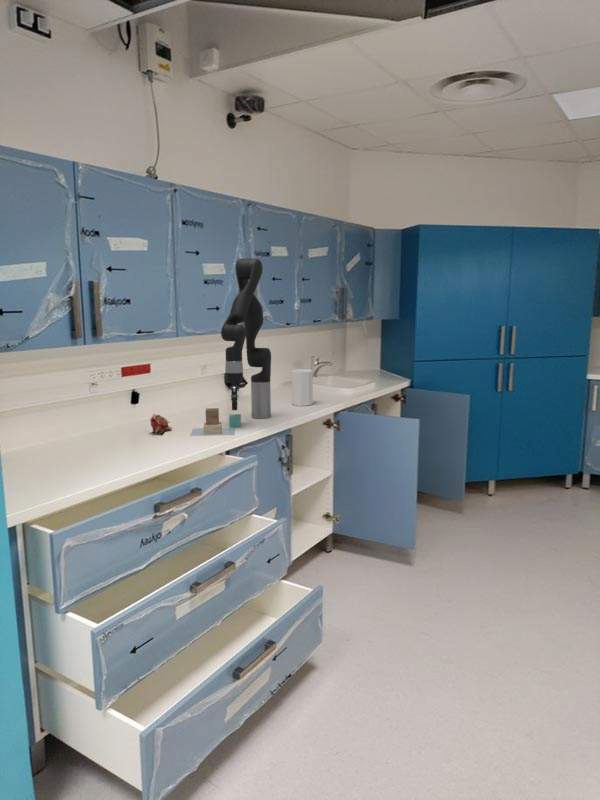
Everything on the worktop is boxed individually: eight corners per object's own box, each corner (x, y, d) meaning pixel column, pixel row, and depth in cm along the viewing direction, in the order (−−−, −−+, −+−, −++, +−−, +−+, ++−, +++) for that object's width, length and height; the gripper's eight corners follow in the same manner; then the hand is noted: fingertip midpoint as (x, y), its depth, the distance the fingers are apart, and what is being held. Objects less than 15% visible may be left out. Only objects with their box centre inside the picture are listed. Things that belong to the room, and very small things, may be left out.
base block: (204, 430, 243) (204, 422, 243) (221, 430, 244) (221, 421, 243) (203, 434, 236) (203, 425, 236) (221, 434, 237) (220, 425, 236)
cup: (303, 402, 320) (303, 368, 317) (317, 404, 311) (317, 370, 308) (287, 404, 313) (287, 370, 310) (300, 407, 304) (300, 372, 301)
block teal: (229, 427, 255) (229, 414, 254) (241, 427, 256) (240, 414, 255) (229, 430, 250) (229, 416, 249) (240, 429, 251) (240, 416, 250)
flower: (144, 432, 239) (155, 416, 238) (144, 423, 247) (154, 408, 246) (164, 442, 243) (175, 428, 242) (163, 434, 251) (173, 419, 250)
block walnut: (206, 422, 242) (206, 408, 241) (218, 422, 242) (218, 408, 241) (206, 425, 237) (205, 410, 236) (218, 424, 237) (217, 410, 236)
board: (193, 431, 248) (192, 428, 248) (235, 430, 250) (235, 427, 250) (189, 438, 235) (189, 435, 234) (234, 437, 236) (234, 434, 236)
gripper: (242, 373, 242) (243, 411, 244) (242, 369, 256) (243, 405, 258) (224, 373, 241) (225, 411, 244) (225, 369, 255) (226, 406, 258)
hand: (234, 408), depth 251 cm, fingers open, 8 cm apart
